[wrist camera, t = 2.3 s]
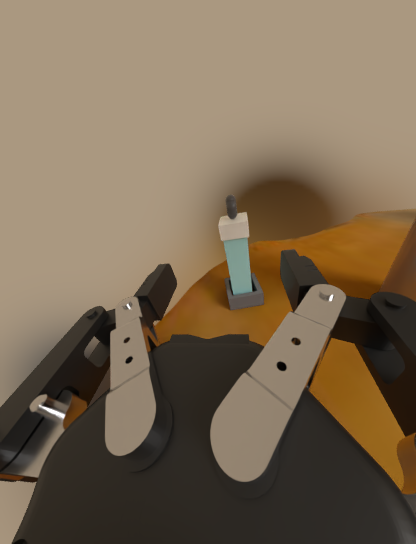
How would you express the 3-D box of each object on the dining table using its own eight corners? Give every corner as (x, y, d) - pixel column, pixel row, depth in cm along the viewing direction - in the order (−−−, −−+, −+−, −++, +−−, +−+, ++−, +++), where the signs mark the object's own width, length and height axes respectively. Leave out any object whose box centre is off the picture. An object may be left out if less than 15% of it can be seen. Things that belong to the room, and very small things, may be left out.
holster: (254, 283, 36) (254, 272, 34) (263, 304, 31) (263, 292, 29) (226, 288, 37) (224, 278, 35) (230, 310, 31) (228, 299, 30)
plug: (253, 288, 35) (244, 188, 24) (254, 303, 32) (245, 194, 21) (233, 289, 36) (216, 195, 25) (233, 304, 33) (213, 201, 22)
